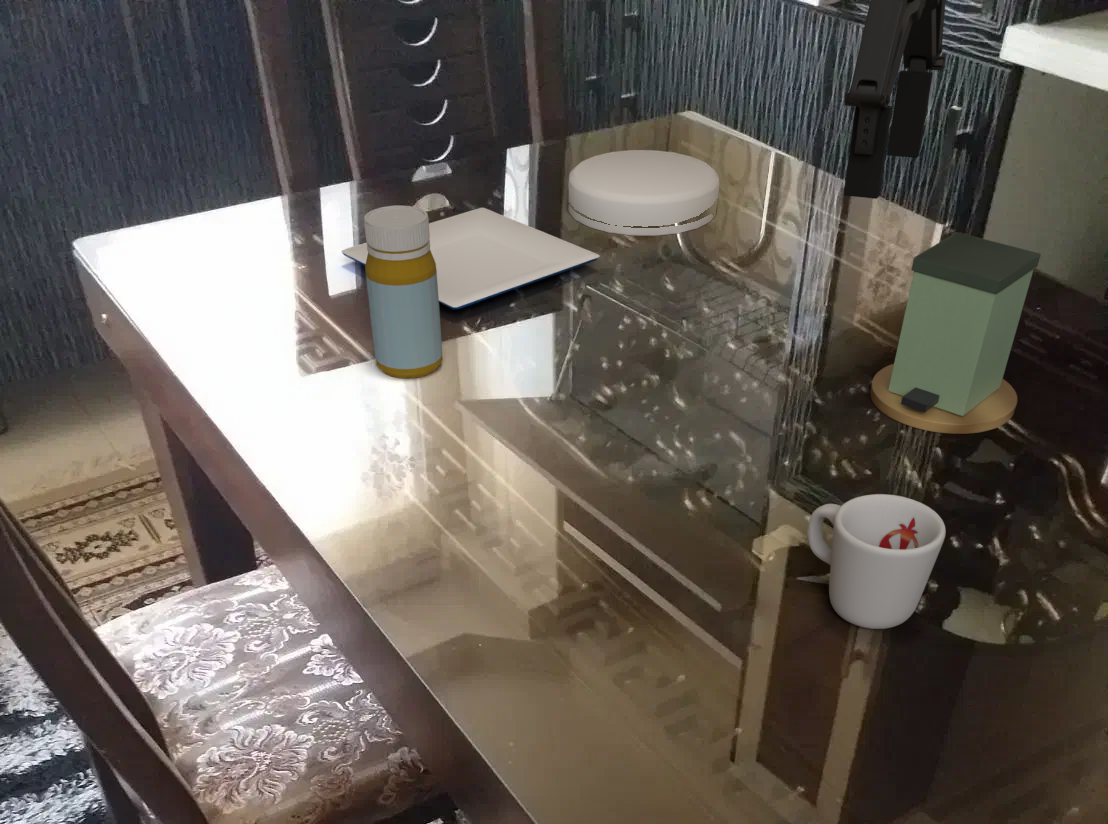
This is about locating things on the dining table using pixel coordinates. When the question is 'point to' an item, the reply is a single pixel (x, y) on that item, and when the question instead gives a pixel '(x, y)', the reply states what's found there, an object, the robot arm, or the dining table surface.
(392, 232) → the bottle
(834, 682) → the dining table surface
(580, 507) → the dining table surface
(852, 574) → the cup
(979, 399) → the bin
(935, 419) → the disc
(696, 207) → the container
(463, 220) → the plate
